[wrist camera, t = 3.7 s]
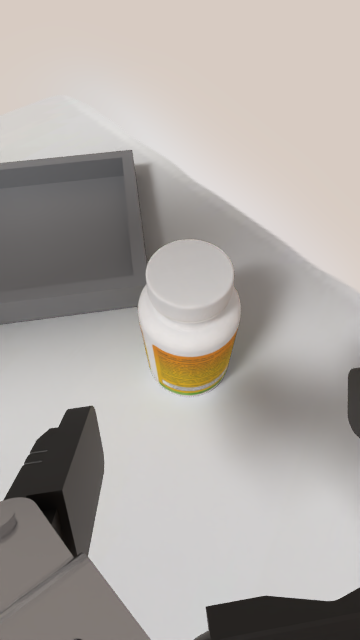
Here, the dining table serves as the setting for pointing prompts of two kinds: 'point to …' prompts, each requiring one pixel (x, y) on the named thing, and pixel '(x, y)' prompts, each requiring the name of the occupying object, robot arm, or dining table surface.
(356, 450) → the dining table surface
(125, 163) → the tray
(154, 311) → the supplement bottle
